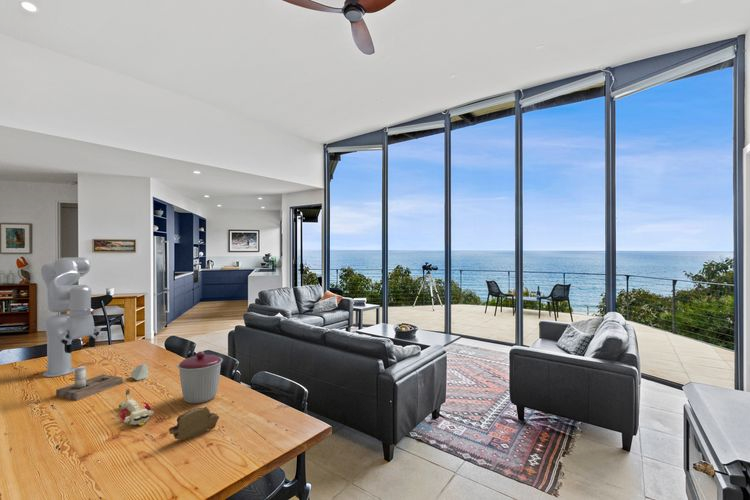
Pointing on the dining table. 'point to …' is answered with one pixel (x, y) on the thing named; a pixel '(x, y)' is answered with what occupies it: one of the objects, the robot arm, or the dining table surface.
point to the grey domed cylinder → (80, 377)
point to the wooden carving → (194, 423)
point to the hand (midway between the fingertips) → (80, 349)
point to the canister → (200, 377)
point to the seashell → (140, 372)
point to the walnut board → (89, 387)
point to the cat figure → (135, 411)
